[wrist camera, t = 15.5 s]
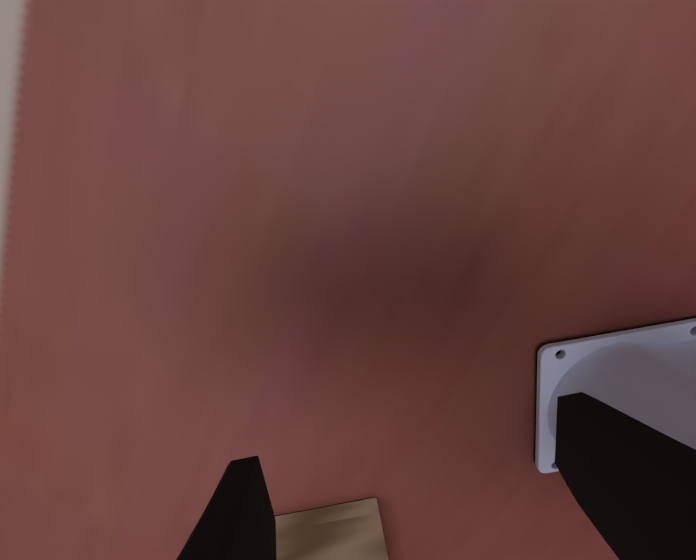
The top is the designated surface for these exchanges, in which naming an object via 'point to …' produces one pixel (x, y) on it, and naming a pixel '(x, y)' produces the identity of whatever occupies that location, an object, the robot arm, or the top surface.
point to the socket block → (332, 533)
